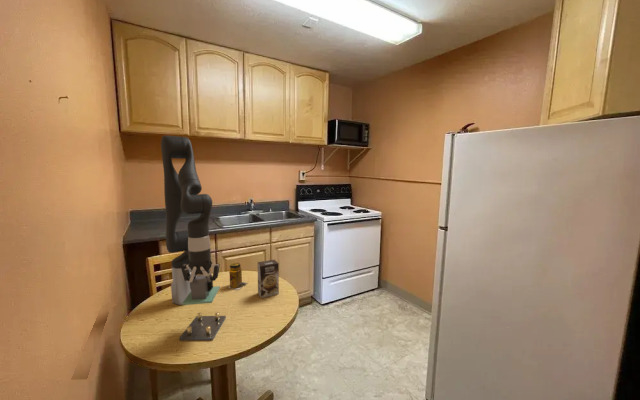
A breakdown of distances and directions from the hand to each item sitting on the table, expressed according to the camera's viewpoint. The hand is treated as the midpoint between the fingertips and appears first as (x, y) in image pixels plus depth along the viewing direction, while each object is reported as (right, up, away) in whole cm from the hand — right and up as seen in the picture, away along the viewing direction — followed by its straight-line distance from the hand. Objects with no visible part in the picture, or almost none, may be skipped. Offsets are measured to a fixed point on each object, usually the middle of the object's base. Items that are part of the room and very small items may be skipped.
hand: (202, 290), depth 100 cm
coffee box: (+19, -12, +30) cm, 38 cm away
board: (0, -2, 0) cm, 2 cm away
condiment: (+1, -11, +39) cm, 40 cm away
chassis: (0, -16, +2) cm, 16 cm away
